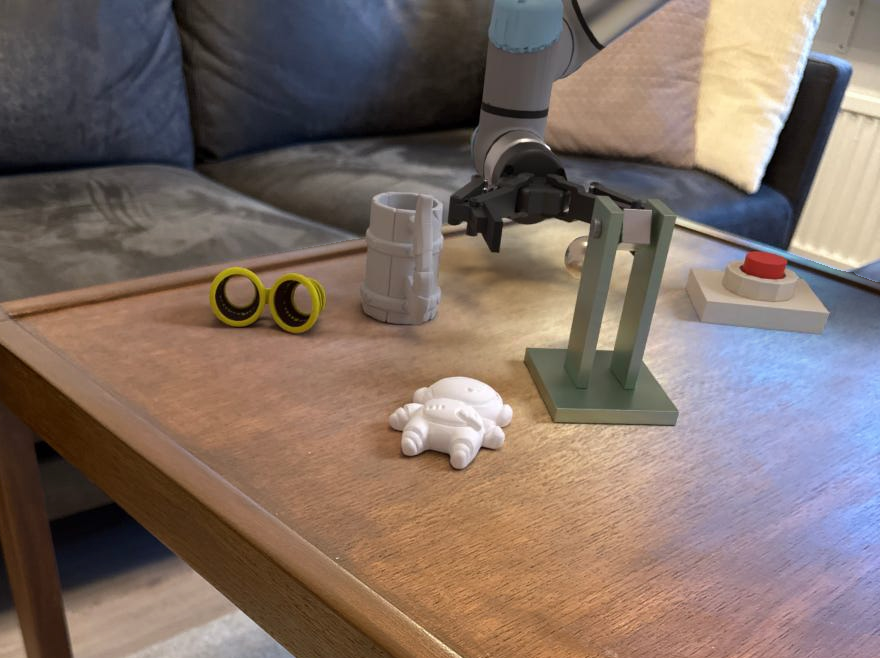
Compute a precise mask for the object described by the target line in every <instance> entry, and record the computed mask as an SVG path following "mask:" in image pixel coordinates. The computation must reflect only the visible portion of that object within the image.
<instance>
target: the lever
mask: <svg viewBox="0 0 880 658" xmlns="http://www.w3.org/2000/svg"><path fill="white" fill-rule="evenodd" d="M622 211H623V212H624V217H623V222H622V227H621V232H620V237H619V241H618V246H617V251H623V252H629V251H638V250H639V249H641V248H643V247H645V246H647V245H649V244H650V235H651V219H652V210H641V209H623V210H622ZM588 236H589V235H581V236H578V237H577V238H575V239H573V240H572V241H571V242H570V243H569V245H568V246H567V248H566V250H565V253H564V265H565V266H564V267H565V269H566V270H567V272H568V273H569V275H570V276H572V277H573V278H575V279H576V280H579V281H580V279H581V273H582V268H583V263H584V257H585V252H586V247H587V241H588Z"/></svg>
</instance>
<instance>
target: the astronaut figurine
mask: <svg viewBox="0 0 880 658" xmlns="http://www.w3.org/2000/svg"><path fill="white" fill-rule="evenodd" d="M412 401H413V402H412V403H405V404H404V406H403V407H398V408H396V409H395V411H393V413H391V414H390V415H389V417H388V423H389V425H390V427H391V428H392V429H393V430H396V431H401V432H402V434H401V440H400V441H401V442H400V446H401V451H402V453H403V454H404V456H408V457H413V456H416V455H419V454H421V453H423V452H425V451H428V450H431V451H436V452H439V453H444V454H448V455H449V456H450V458H449V459H450V460H449V461H450V465H451V466H452V468H454V469H457V470H461V469H466V467H467V466H468V465H469V464H471V462H472V461H473V460H475V458H476V456H477V454H478V452H479V451H480V449H481V447H483V448H488V449H491V450H498V449H500V448H501V447H502V445H503V444H504V443H505V439H506V434H505V433H504V430H503V429H502V428H505V427H507V426H508V425H509V424H511V422H512V419H513V415H514V411H513V408H512V407H511V406H510V405H509V404H508V403H505V404H504V401H503V398H502V397H501V394H499V393H498V392H497V391H496V390H495V389H493V388H492V387H491V386H490V385H489V384H487V383H485V382H482V381H480V380H478V379H475V378H471V377H466V376H451V377H445V378H442V379H439V380H437V381H436V382H435V383H432V384H431V385H430V386H429V387H426V386H425V387H420V388H418V389H417V390H415V392H414V394H413V398H412Z"/></svg>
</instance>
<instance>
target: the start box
mask: <svg viewBox="0 0 880 658" xmlns="http://www.w3.org/2000/svg"><path fill="white" fill-rule="evenodd" d="M744 261H745V259H741V260H733V261H731V262H728V264H727V265H726V267H725V270H717V269H708V268H707V269H706V268H696V267H690V268H689V273H688V276H687V279H686V284H685V287H684V288H685V291H686V293H687V295H688V297H689V300H690V302H691V303H692V306H693V308H694V310H695V312H696V315H697V317H698V319H699V321H700V322H701V323H704V324H715V325H723V326H724V325H725V326H735V327H744V328H752V329H753V328H754V329H764V330H771V331H772V330H774V331H783V332H793V333H802V334H814V335H823V333H824V330H825V327H826V324H827V322H828V318H829V315H830V311H829V310H828V309H827V308H826V307H825V305H824V303H823V302H822V301H821V300H820V298H819V297H818V296H817V294H816V293H815V292H814V291H813V288H811V287H810V285H809V284H808V282H807V281H806V280H805V279H804V278H800V277H799V276H798V275H797V274H796V272H795V271H794V270H791V269H789V268H787V267H786V268H785V271H784V274H783V277H782V279H777V280H773V279H763V278H758V277H754V276H751V275H748V274H746V273H744V272H742V268H743V264H744Z"/></svg>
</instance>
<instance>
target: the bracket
mask: <svg viewBox="0 0 880 658" xmlns="http://www.w3.org/2000/svg"><path fill="white" fill-rule="evenodd" d="M645 204H646V205H645V209H644V210H652V219H651V235H650V244H649V245H647V246H645V247H643V248H641V249H639V250H638V251H635V255H634V256H633V260H632V264H631V267H630V268H631V269H630V273H629V278H628V283H627V287H626V292H625V296H624V301H623V306H622V309H621V314H620V320H619V323H618V328H617V333H616V338H615V341H614V346H613V349H612V350H611V349H610V350H609V349H597V348H598V347H597V346H598V342H599V337H600V332H601V328H602V323H603V318H604V314H605V310H606V309H605V308H606V303H607V299H608V293H609V289H610V285H611V279H612V275H613V270H614V266H615V260H616V255H617V251H618V250H617V246H618V241H619V237H620V232H621V227H622V222H623V217H624V212H623V211H622V210H621V209H620V208H619V207H618V206H617V205H616V204H615V203H614V202H613V201H612V200H611V199H610V198H609V196H596V199H595V204H594V210H593V215H592V220H591V224H589V232H588V235H587V236H588V241H587V247H586V252H585V257H584V263H583V268H582V273H581V279H580V280H579V283H578V290H577V295H576V300H575V304H574V305H575V306H574V310H573V311H574V312H573V316H572V320H571V321H572V322H571V325H570V326H571V327H570V332H569V338H568V343H567V347H566V348H554V347H553V348H552V347H550V348H549V347H525V353H524V358H523V361H524V363H525V365H526V367H527V370H528V371H529V373H530V375H531V377H532V379H533V382H534V383H535V386H536V387H537V388H536V389H538V391H539V394H540V396H541V398H542V400H543V402H544V404H545V406H546V408H547V410H548V412H549V414H550V416H551V419H552V420H553V422H554V423H571V424H573V423H574V424H611V425H613V424H614V425H615V424H616V425H657V426H660V425H661V426H676V425H677V421H678V418H679V414H680V411H679V409H678V408H677V406H676V405H675V403H674V402H673V400H671V398H670V397H669V395H668V394H667V392H666V391H665V389H664V388H663V387H662V385H661V384H660V383H659V381H658V379H657V378H656V377H655V376H654V374H653V373H652V372H651V370H650V369H649V367H648V366H647V365H646V363H645V362H644V360H643V359H644V355H645V350H646V346H647V342H648V338H649V333H650V331H651V330H650V329H651V325H652V322H653V317H654V313H655V308H656V305H657V302H658V301H657V300H658V296H659V292H660V288H661V284H662V280H663V275H664V271H665V269H666V263H667V259H668V256H669V255H668V254H669V252H670V251H669V250H670V246H671V242H672V238H673V233H674V229H675V225H676V221H677V218H678V215H677V214H676V213H675V212H673V211H672V210H671V209H670V208H669V206H667V205H666V204H665V203H664V202H663V201H661V200H660V198H646V200H645Z"/></svg>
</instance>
